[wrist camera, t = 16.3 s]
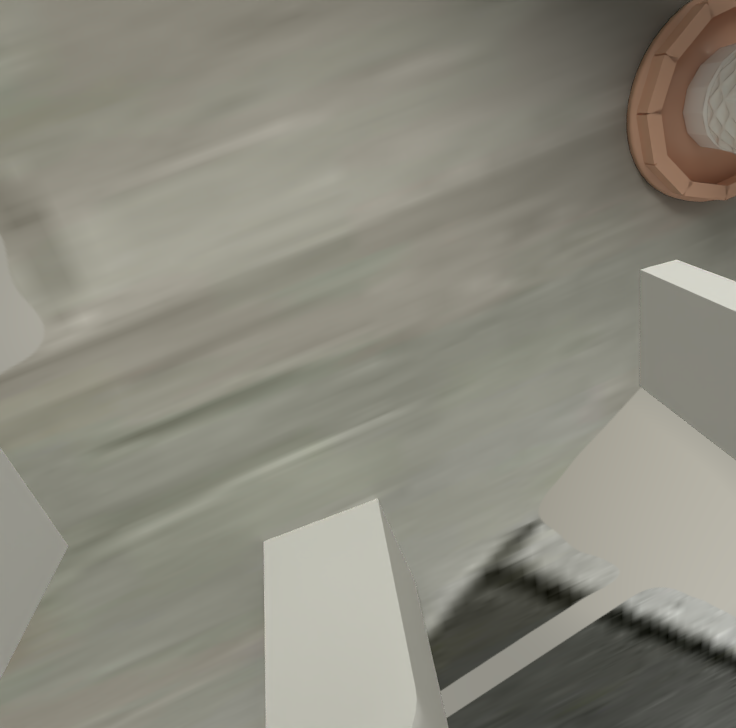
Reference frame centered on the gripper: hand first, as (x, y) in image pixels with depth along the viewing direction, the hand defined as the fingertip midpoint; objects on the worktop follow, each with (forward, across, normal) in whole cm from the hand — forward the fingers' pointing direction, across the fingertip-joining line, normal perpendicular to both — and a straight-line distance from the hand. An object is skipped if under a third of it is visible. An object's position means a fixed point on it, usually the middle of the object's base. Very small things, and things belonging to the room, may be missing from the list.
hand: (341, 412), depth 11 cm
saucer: (+29, +31, 0) cm, 42 cm away
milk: (+29, -6, -34) cm, 45 cm away
